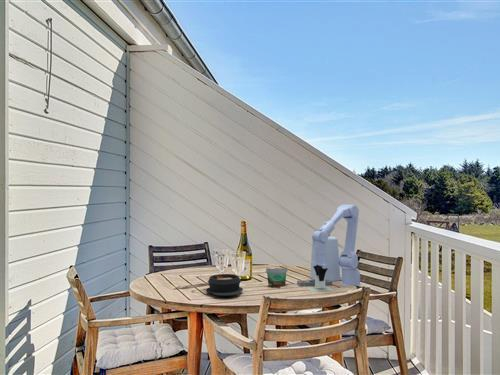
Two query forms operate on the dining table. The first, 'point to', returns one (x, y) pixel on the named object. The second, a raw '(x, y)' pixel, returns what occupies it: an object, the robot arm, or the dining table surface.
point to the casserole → (224, 285)
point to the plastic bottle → (328, 260)
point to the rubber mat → (320, 289)
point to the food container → (276, 277)
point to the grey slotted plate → (312, 282)
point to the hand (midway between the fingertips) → (320, 280)
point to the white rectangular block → (319, 282)
